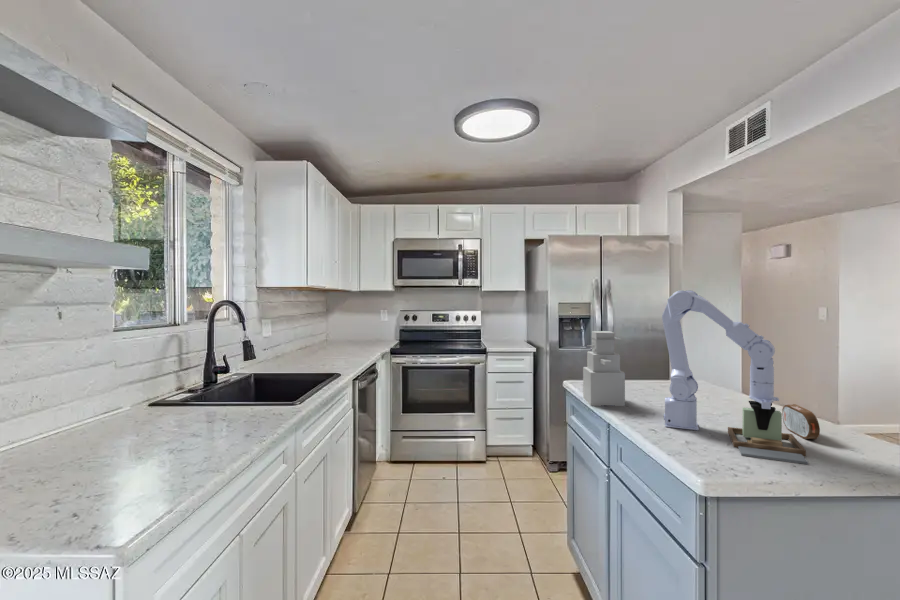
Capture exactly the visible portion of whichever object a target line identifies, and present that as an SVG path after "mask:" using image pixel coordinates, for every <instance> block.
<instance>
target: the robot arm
mask: <svg viewBox="0 0 900 600" xmlns="http://www.w3.org/2000/svg"><path fill="white" fill-rule="evenodd" d="M690 311H691V312H696V313H702V314H704V315H705V316H707V317H708V318H709V319H710V320H712V321H714V323H716V324H717V325H719V326H720V327H722V328H723V329H724V330H725V335H726V337H727V338H729V339H730V340H731V341H732V342H733V343H735V344H736V345H737V346H738V347H740V348H742V350H744V351H747V354H748V356H749V358H750V364H749V365H750V366H749V396H748V398H749V399H750V400H748V403H749V405H750V408H753V410H754V412H755V416H756V421H757V426H758V429H759V430H767V429H768V426H769V422H770V419H771V416H772V414H773V413H774V412H775V411H777V410H776V406H772V405H773V403H774V402H779V401H780V398H779V397H777V396H775V392H774V391H775V367H774V358H773V356H774V355H775V352H776V350H775V349H776V348H775V346H774V345H773V344H772V343H771V341H770V340H767V339H764V338H765V337H764V336H763V335H759V334H758V333H756V332H755V331H754V330H753V329H751V328H750V325H749V324H748V323H743V322H742V321H733V320H732V319H731V318H730V317H729V316H727V315H726V314H724V312H722V311H721V310H720V309H718V308H717V306H716V305H714V304H712V303H711V302H710V301H709V300H708V299H706V298H705V297H704V296H701V295H698V293H696V291H693V290H681V289H679V290H677V291H675V292H673V293H672V295H670V296H669V298H668V299H667V303H666V306H665V308H664V310H663V312H662V317H661V318H662V319H661V320H662V324H663V325H662V326H663V330H664V335H665V340H666V345H667V350H668V351H667V352H668V356H669V361H670V367H671V372H670V385H669V392H670V394H671V397H664V413H663V420H664V427H666V428H674V429H681V430H682V429H684V430H691V431H693V430H694V431H699V429H700V428H699V423H698V421H697V415H698V414H697V412H698V411H697V409H698V407H697V405H698V403H697V402H698V401H697V397H696V395H695V394H696V393H697V391H698V390H699V384H698V382H697V380H696V379H695V377H694V376H693V372H692V370H691V367H690V363H689V360H688V355H687V351H686V343H685V340H684V339H685V338H684V335H683V330H682V329H683V328H682V325H681V323H682V322H681V319H682V318H683V317H685V315H686V314H687V313H689V312H690Z"/></svg>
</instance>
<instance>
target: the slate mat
mask: <svg viewBox="0 0 900 600" xmlns="http://www.w3.org/2000/svg"><path fill="white" fill-rule="evenodd" d="M737 449H738V451H739V453H740V455H741V456H743V457H751V458H758V459H766V460H770V461H771V460H773V461H781V462H788V463H795V464H803V465H809V461H808V460H807V459H806V458H805V456H803V455H802V454H797V453H789V452H781V451H773V450H765V449H757V448H749V447H741V446H738V448H737Z"/></svg>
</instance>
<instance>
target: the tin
mask: <svg viewBox="0 0 900 600" xmlns="http://www.w3.org/2000/svg"><path fill="white" fill-rule="evenodd" d="M781 409H782V410H781V411H782V412H781V413H782V423H783V424H784V426H785V428H786V429H787V430H788V431H789V430H790V431H789V432H791V433H793V434H795V435H796V434H797V435H796V436H798V437H800V438H801V439H804V440H813V441H815V440H818V438H819V436H820V432H821V429H820V423H819V420H818V418H817V416H816V414H815V413H813V411H811V410H810V409H808V408H805V407H802V406H801V405H798V404H796V403H793V404H785V405H784V406H783V407H782V408H781Z"/></svg>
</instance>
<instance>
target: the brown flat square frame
mask: <svg viewBox="0 0 900 600" xmlns="http://www.w3.org/2000/svg"><path fill="white" fill-rule="evenodd" d="M727 434H728V437H729V438H730V441H731V444H732V446H733V448H737V449H739V448H738V446H741V447H749V448H757V449H765V450H773V451H781V452H789V453H797V454H802V455H803V456H804V457H807V456H806V455H807V451H806V449H805V448H804V447H803V445H802V444H801V443H800V442H799V441H798V439H797V438H796V437H795V436H794V434H792V433H787V432H782V440H787V439H789V440H788V441H789V442H790V444H791V445H792V446H793V447H790V446H789V447H787V446H783V447H781V446H773V445H764V444H756V443H748V442H747V441H739V440H738V439H737V436H736V435H743V434H742V428H741V427H731V426H728V427H727Z"/></svg>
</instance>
